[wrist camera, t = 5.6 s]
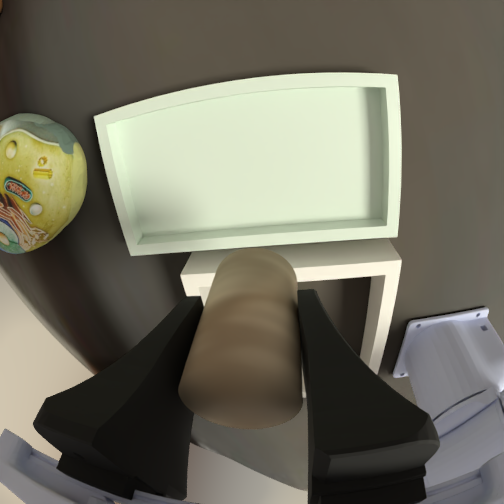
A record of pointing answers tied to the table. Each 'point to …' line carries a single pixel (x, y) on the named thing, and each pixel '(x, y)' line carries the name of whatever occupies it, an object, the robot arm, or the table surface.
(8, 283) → the table surface
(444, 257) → the table surface
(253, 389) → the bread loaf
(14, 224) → the cell model
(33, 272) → the table surface
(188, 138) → the tray
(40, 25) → the table surface
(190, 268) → the square open frame
